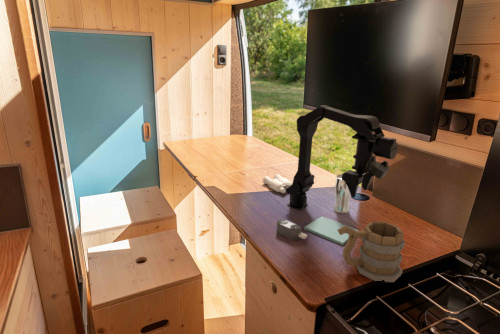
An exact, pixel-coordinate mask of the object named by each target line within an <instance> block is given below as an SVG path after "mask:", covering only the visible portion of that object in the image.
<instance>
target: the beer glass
mask: <svg viewBox="0 0 500 334" xmlns="http://www.w3.org/2000/svg"><path fill="white" fill-rule="evenodd" d="M342 174H343V173H339V174H337V175H336V176H335V177H336V178H335V185H334V195H335V196H334V197H335V204H334V208H333V211H334V212H336V213H338V214H347V213H349V211H350V208H349V207H350V205H349V204H350V199H351V198H352V197H351V194H350V191H349V189H348V186H347V184H346V182H345V181H344V180H342Z"/></svg>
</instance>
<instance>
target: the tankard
mask: <svg viewBox="0 0 500 334" xmlns="http://www.w3.org/2000/svg"><path fill="white" fill-rule="evenodd" d="M347 226H348V225H347ZM347 226H344V227H342V228H339V229H338V232H339V234H340V235H342V234H344V233H347V234H348V235H349V238H348V241H347V242H346V243H345V244H344V247H343V249H342V258H343V259H344V262H345V264H346V265H349V266H353V267H354V266H356V268H357V270H358V271H357V272H358V273H359V274H360V275H361V276H363V277H366V278H368V279H369V280H371V281H373V280H374V281H373V282H375V281H382V280H384V281H385V282H384V283H395V282H396V281H397V280H398V278H400V277H401V276H402V275H403V269H402V268H401V266H400V264H401V263H402V261H403V254H401V252H402V250H403V249H404V248H405V243H406V242H405V240H404V232H403V231H402V229H401V228H400V227H399V226H398V225H395V224H393V223H390V222H388V221H387V222H386V221H370V222H369V223H367V224H365V225H364V229H363V230H359V231H356V230H354V229H351V228H349V227H350V226H349V227H347ZM357 238H360V240H361V242H362V245H360V246H359V250H358V253H359V255H360V256H359V257H357V258H356V257H355V258H354V257H351V253H352V250H353V249H354V247H355V245H356V242H357ZM401 274H402V275H401Z"/></svg>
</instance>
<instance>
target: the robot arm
mask: <svg viewBox="0 0 500 334" xmlns="http://www.w3.org/2000/svg"><path fill="white" fill-rule="evenodd" d="M324 119H327V120H331V121H333V122H336V123H338V124H341V125H345V126H348V127H349V128H351V130H353V131H354V132H356V133H355V134H354V135H352V136H351V139H354V140H357V141H356V142H357V143H356V150H355V153H354V154H353V155H352V158H353V159H354V164H353V165H352V166H351V169H352V170H351V169H349V170H346V171H345V172H343V173H341V174H342V180H344V181H345V182H346V184H347V186H348V189H349V191H350V194H351V197H350V198H353V199H354V198H355V197H356V195H357V191H358V189H359V186H360V185H361V184H362V189H363V190H364V191H367V190H368V188H369V185H370V183H371V181H372V180H373V177H375V178H377V179H378V180H381V179H382V178H384V177H385V176H386V174H387V173H388V172H389V171H390V167H389V162H388V161H387V160H394V159H395V158H396V156H397V154H398V150H399V147H398V142H397V138H394V137H390V138H389V137H385V132H384V131H383V130H382V128H381V126H380V121H379V119H378V117H377V116H374V115H366V114H364V115H363V114H354V113H350V112H347V111H344V110H342V109H337V108H334V107H331V106H329V105H327V104H326V105H320V106H317V107H316V108H315V109H313V110H312V111H310V112H308V113H306V114H303V115H300V116H298V117H297V118H296V131H297V133H298V135H299V146H298V149H299V150H298V161H297V163H298V164H297V171H296V172H295V175H294V176H293V179H292V185H291V186H290V187H288V188H287V190H286V192H287V194H289V203H287V206H288V207H291V208H292V209H296V210H302V209H303V208H306V207H307V206H309V205H308V202H307V201H308V197H307V192H309V190H310V189H311V188H312V187H313V185H314V184H315V174H312V173H311V171H310V169H311V159H312V146H313V137H314V135H315V133H316V132H317V129H318V125H319V123H320V122H321V121H323V120H324ZM376 157H380V158H384V159H387V160H384V161H382V162H381V161H377V160H376Z"/></svg>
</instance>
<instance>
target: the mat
mask: <svg viewBox="0 0 500 334" xmlns="http://www.w3.org/2000/svg"><path fill="white" fill-rule="evenodd" d="M344 226H347V227H349V228H351V229H354V230H356V231H360V230H359V229H357V228H354V227H351V226H349V225H347V224H344V223H341V222H338V221H336V220H334V219H331V218H328V217H325V216H323V215H322V216H320V217H318V218H316V219H315V220H313V221H312V222H310V223H309V224H307V225H305V226H304V227H303V228H304V229H303V230H305V231H308V232H310V233H312V234H315V235H317V236H318V237H322V238H324V239H327V240H328V241H331V242H334V243H336V244H338V245H341V246H345V245H346V244H347V242H348V238H349V235H348V234H347V233H344V234H342V235H340V234H339V232H338V229H339V228H342V227H344Z"/></svg>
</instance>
